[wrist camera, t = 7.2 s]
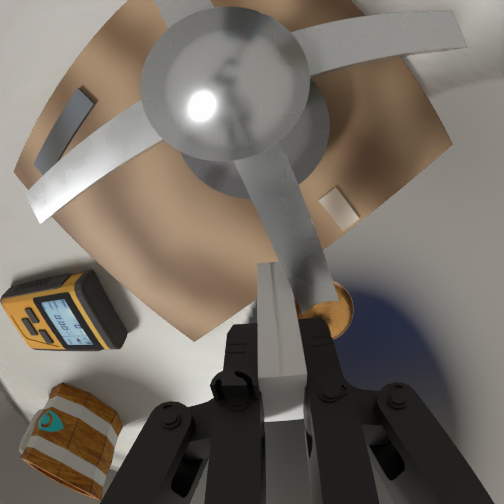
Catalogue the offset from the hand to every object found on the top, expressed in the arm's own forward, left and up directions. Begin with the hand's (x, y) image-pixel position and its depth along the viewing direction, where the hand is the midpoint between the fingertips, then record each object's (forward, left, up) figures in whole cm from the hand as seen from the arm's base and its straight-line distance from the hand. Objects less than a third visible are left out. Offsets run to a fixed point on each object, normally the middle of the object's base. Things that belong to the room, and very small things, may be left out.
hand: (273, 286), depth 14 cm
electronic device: (+22, -8, -8) cm, 25 cm away
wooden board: (-2, -8, -7) cm, 11 cm away
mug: (+44, +2, -7) cm, 45 cm away
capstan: (-5, -8, -5) cm, 11 cm away
